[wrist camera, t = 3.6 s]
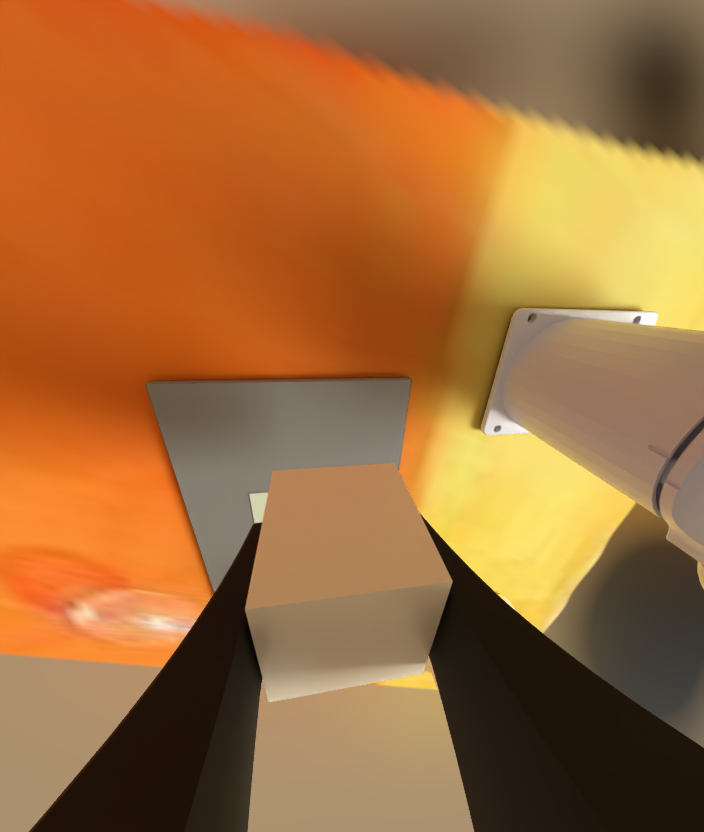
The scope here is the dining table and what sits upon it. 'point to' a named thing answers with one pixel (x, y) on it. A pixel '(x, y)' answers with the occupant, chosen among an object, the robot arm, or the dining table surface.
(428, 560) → the cream block
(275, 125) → the dining table surface
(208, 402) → the mat
